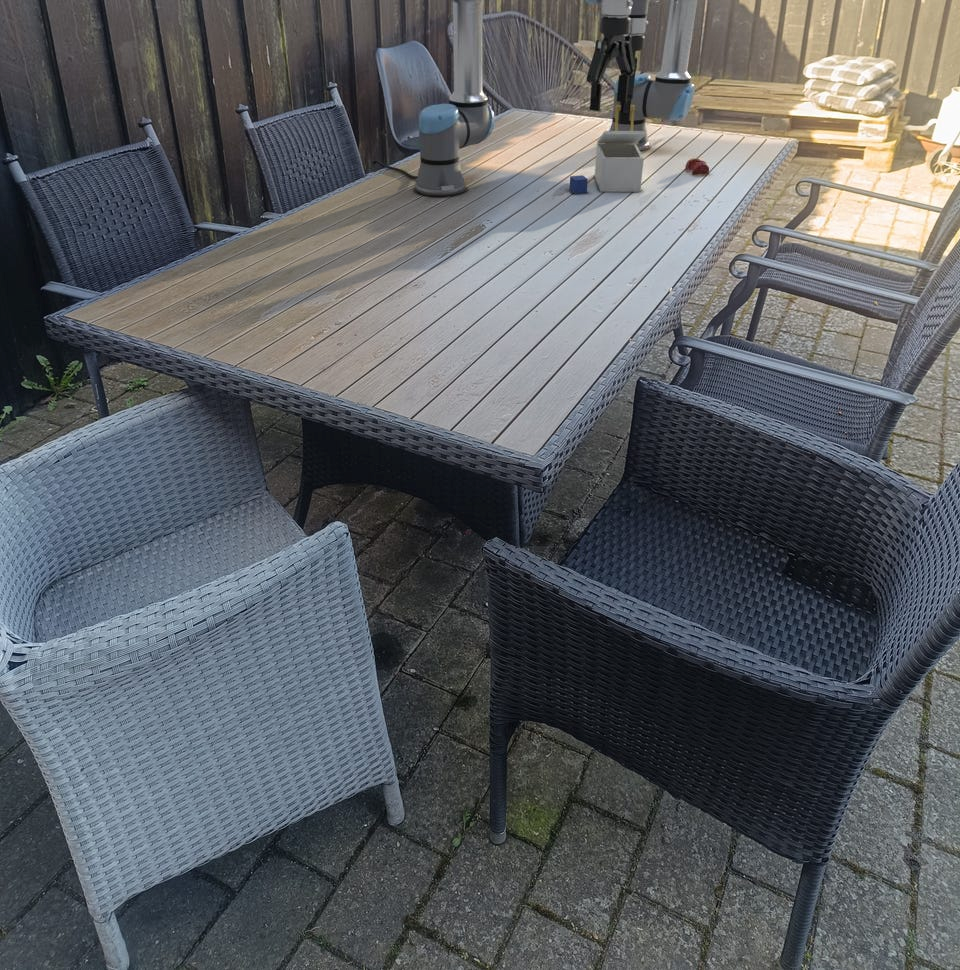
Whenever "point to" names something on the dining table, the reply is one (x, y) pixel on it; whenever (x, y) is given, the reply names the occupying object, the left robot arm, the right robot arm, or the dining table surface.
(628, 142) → the lid
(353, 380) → the dining table surface
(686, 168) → the dark red lumpy piece
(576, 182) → the block
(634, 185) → the chest
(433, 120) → the left robot arm
